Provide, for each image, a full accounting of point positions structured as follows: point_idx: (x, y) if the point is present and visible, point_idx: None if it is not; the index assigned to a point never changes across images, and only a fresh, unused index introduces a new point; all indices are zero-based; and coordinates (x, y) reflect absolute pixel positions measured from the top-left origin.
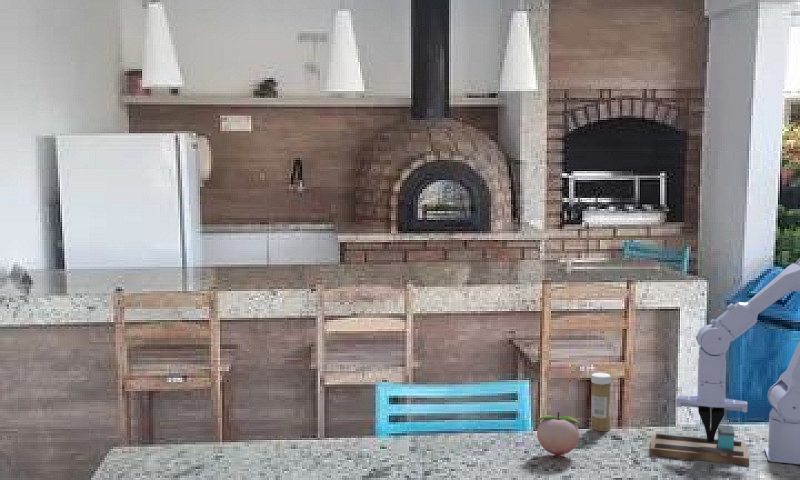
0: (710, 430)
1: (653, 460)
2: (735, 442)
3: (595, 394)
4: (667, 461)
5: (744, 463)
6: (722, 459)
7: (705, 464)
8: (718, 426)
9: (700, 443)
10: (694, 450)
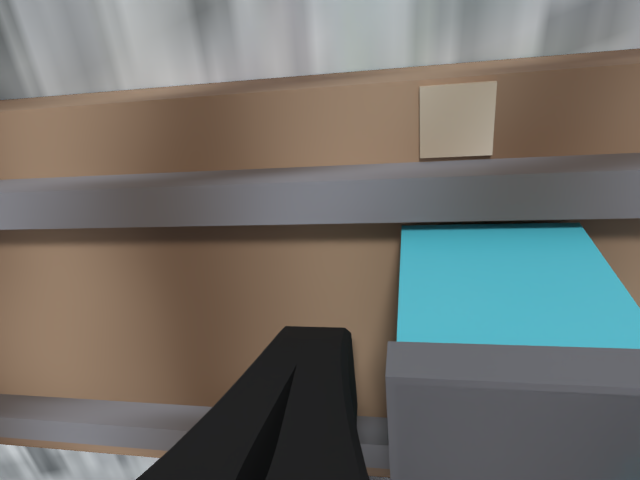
0: (292, 381)
1: (47, 464)
2: (636, 211)
3: None
4: (114, 465)
5: None
6: None
7: None
8: (404, 449)
9: (233, 261)
10: None
